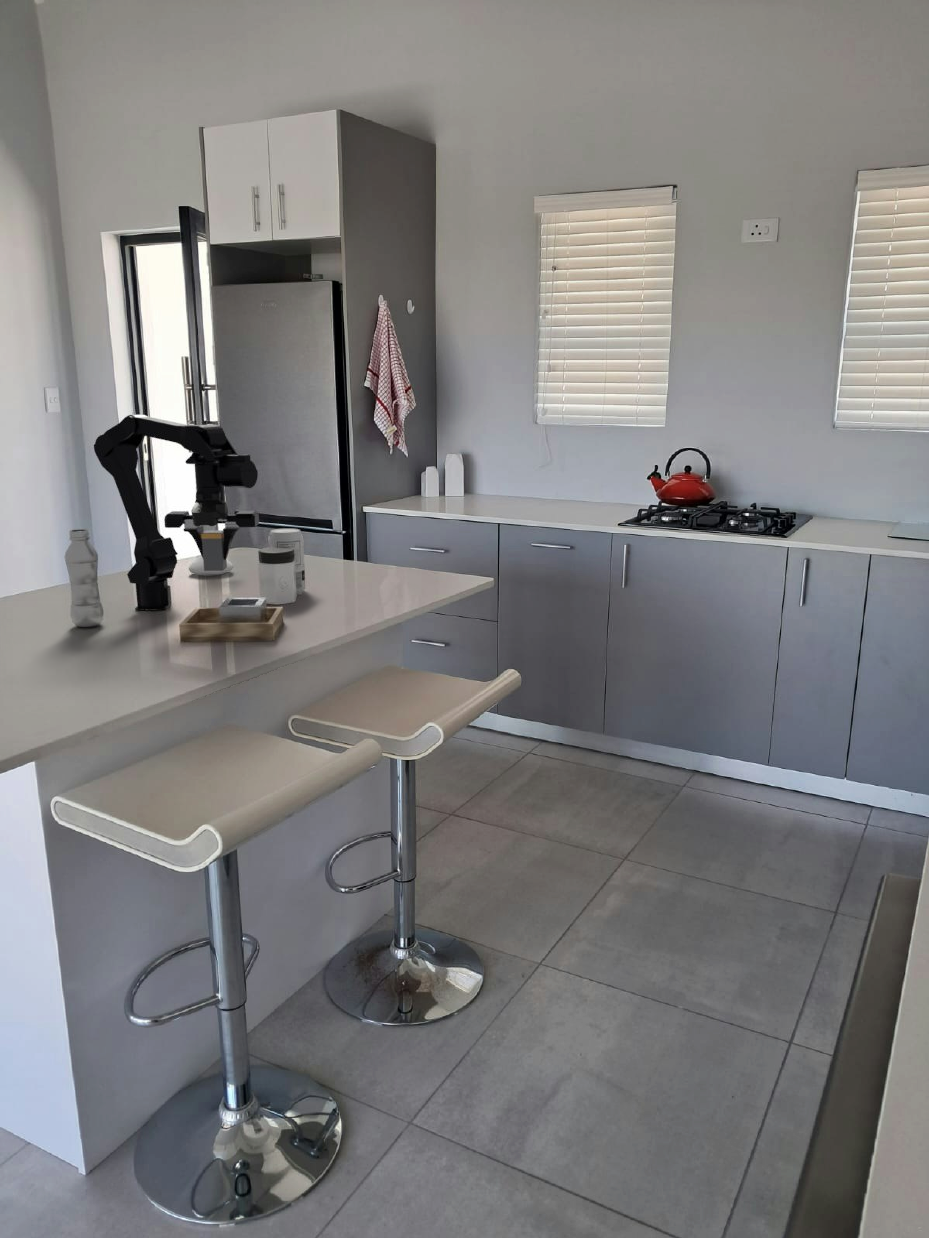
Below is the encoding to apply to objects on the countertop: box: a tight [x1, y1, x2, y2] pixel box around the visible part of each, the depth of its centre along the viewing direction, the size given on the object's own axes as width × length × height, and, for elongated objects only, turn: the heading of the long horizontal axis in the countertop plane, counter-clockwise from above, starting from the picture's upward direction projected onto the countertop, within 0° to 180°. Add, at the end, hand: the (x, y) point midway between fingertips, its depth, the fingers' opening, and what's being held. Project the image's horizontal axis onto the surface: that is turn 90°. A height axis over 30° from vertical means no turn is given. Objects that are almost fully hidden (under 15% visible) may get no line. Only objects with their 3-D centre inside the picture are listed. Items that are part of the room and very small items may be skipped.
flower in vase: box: [188, 525, 234, 577], centre depth 242 cm, size 13×11×25 cm
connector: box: [201, 529, 228, 571], centre depth 197 cm, size 4×4×8 cm
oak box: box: [178, 606, 284, 643], centre depth 187 cm, size 18×14×4 cm
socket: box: [219, 597, 268, 623], centre depth 188 cm, size 8×8×6 cm
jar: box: [257, 546, 298, 606], centre depth 214 cm, size 9×8×12 cm
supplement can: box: [267, 527, 306, 595], centre depth 222 cm, size 8×8×15 cm
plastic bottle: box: [64, 528, 105, 628], centre depth 189 cm, size 6×7×20 cm
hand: (215, 559), depth 198 cm, fingers closed on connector, 4 cm apart
